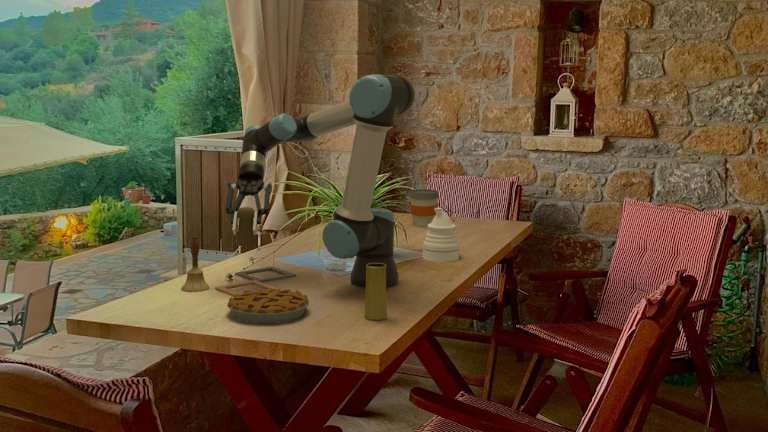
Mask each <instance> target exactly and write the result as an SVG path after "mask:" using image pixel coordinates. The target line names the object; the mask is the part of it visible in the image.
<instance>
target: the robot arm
mask: <svg viewBox="0 0 768 432" xmlns="http://www.w3.org/2000/svg"><path fill="white" fill-rule="evenodd" d="M348 96H349V99H348V100H346V101H343V102H340V103H338V104H334V105H332V106H329V107H326V108H324V109H320V110H318V111H315V112H312V113H309V114H306V115H304V116H300V117H295V118H294V117H292V116H291V115H288V114H287V113H280V114H279V115H277V116H273V118H272V119H270V120H269V121H267V122H266V123H265V124H263V125H253V126H252V125H250V126H248V127H247V128H246V129H245V131H244V135H243V137H242V148H241V156H240V162H239V163H240V164H239V170H238V178H237V181H236V182H235V183H230V182H228V183H227V184H226V186H227V195H226V200H225V201H226V202H225V212H226V215H230V218H229V222H230V225H232V228H231V230H232V234H233V236H236V235H237V233H238V225H239V218H238V216H237V211H238V209H240V208H241V205H242V203H243V201H244V200H245V199H246V197H248V196H250V197H251V196H252V197H254V201H255V206H256V210H257V211H255V214H254V218H253V220H254V223H253V234H254V235H256V236H257V233H258V225H261V224H262V220H263V219H262V218H263V215H266V216H267V215H269V212H270V199H271V194H272V192H273V186H272V185H273V184H272V183H267V184H266V183H265V182H264V176H265V169H266V167H265V166H266V159H267V157H266V156H267V153H268V152H269V151H272V150H273V149H274V148H276V147H277V146H279V145H281V144H285V143H297V142H299V143H300V142H310V141H314V140H316V139H318V137H320V136H324V135H326V134H327V135H328V134H329V133H334V132H336V131H339V130H342V129H344V128H348V127H352V126H354V125H356V129H355V133H354V137H353V143H352V148H351V154H350V158H349V159H350V160H349V164H348V168H347V172H346V173H347V174H346V178H345V183H344V189H343V193H342V197H341V198H342V199H341V203H340V204H339V205H338V206H336V207H335V209H334V212H333V217H332V220H330V221H329V222H328V223H326V224H325V226H324V228H323V231H322V240H323V241H322V242H323V245H324V247H325V248H326V250H327V251H328V253H329V254H330V255H331V256H333V257H334V258H337V259H339V260H340V259H341V260H344V259H345V260H346V259H353V258H354V257H355V260H354V263H353V266H352V271H351V273H350V275H349V279H350V280H349V281H350V283H351V285H355V286H357V287H362V288H363V287H364V288H366V265H367V264H369V263H383V264H386V288H387V287H388V288H389V287H392V286H395V285H398V284H399V282H400V279H399V278H400V275H399V273H398V269H397V264H396V262H395V258H394V241H395V240H394V239H395V238H394V237H395V217H394V212H392V210H390V209H382V208H373V207H371V206H372V203H373V202H372V201H373V199H374V193H375V189H376V183H377V177H378V173H379V169H380V166H381V165H380V164H381V159H382V154H383V150H384V145H385V141H386V136H387V132H388V131H390V129H392V128H394V123H395V120H396V119H395V118H396V116H401V115H403V114H405V113H407V112H408V111H409V110H411V108H412V106H414V103H415V99H416V91H415V88H414V86H413V83H412V82H410V81H409V79H408V78H406V77H404V76H402V75H398V74H378V73H373V74H368V75H363V76H362V77H360V78H358V79H357V80H356V81H355V82H354V83H353V84H352V86H351V89H350V91H349V95H348ZM236 189H237V190H238V194H237V197H236V198H235V200H234V203H233V198H234V192H235V191H236ZM262 190H264V201H263V202H264V203H263V208H262V206H261V202H260V196H259V193H260V192H261V191H262Z"/></svg>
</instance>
